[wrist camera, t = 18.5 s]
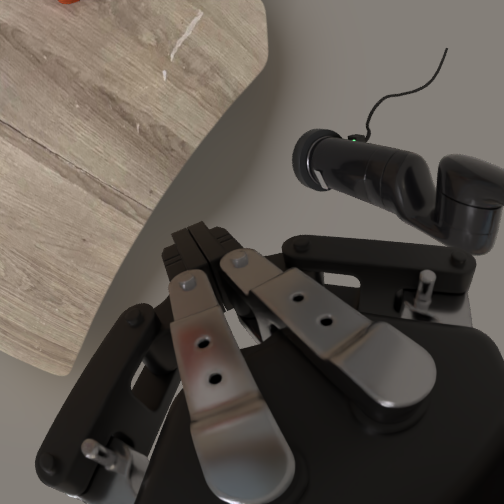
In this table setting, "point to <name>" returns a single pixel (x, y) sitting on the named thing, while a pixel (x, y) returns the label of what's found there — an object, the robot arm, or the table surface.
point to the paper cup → (67, 1)
